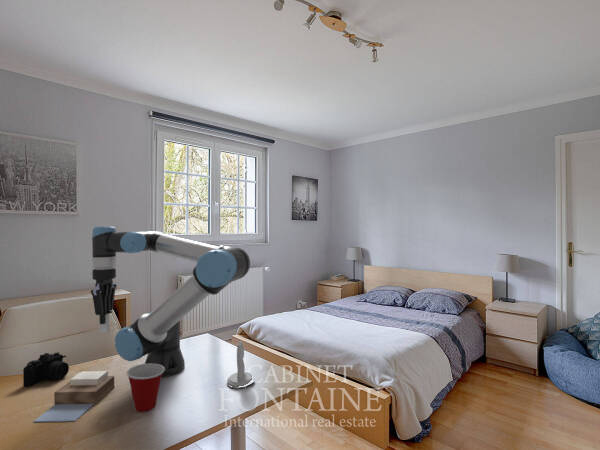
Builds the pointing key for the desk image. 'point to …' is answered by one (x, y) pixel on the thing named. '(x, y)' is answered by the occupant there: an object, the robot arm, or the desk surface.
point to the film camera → (45, 369)
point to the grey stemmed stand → (239, 370)
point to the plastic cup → (145, 385)
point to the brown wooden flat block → (84, 392)
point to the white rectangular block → (89, 378)
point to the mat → (64, 413)
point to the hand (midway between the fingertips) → (104, 331)
